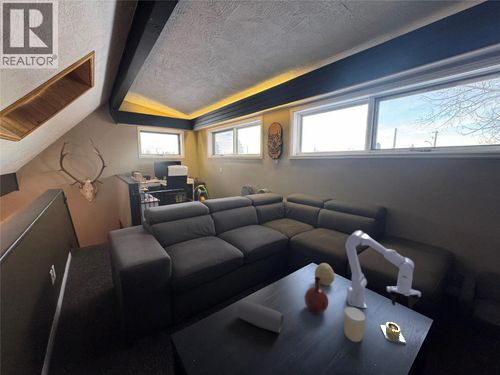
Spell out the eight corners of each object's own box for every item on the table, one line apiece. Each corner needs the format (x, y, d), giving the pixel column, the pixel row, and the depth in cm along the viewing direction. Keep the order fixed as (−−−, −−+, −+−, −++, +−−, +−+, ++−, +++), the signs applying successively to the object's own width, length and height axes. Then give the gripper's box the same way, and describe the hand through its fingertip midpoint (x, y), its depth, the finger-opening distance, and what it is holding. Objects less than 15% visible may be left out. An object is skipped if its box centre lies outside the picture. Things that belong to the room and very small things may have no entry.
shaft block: (386, 340, 95) (387, 332, 95) (380, 326, 103) (381, 319, 102) (405, 344, 93) (406, 335, 93) (397, 330, 101) (398, 322, 100)
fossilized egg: (331, 292, 129) (333, 271, 127) (312, 285, 136) (313, 265, 134) (335, 282, 140) (336, 262, 138) (317, 276, 147) (318, 257, 144)
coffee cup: (361, 329, 101) (363, 308, 99) (365, 346, 92) (367, 323, 91) (341, 324, 104) (343, 304, 102) (343, 340, 95) (345, 318, 94)
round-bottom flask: (302, 315, 110) (304, 282, 107) (305, 299, 123) (306, 270, 120) (327, 322, 106) (329, 288, 103) (327, 305, 118) (330, 274, 115)
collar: (388, 336, 96) (389, 330, 96) (384, 327, 101) (384, 321, 101) (401, 339, 95) (402, 332, 94) (396, 329, 100) (397, 323, 99)
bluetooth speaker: (283, 325, 104) (283, 308, 102) (278, 340, 95) (278, 321, 94) (244, 311, 113) (244, 295, 112) (237, 323, 105) (236, 306, 103)
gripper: (391, 284, 100) (388, 308, 102) (425, 289, 97) (422, 314, 99) (386, 276, 107) (383, 299, 109) (417, 280, 103) (414, 304, 105)
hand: (401, 305), depth 104 cm, fingers open, 7 cm apart
